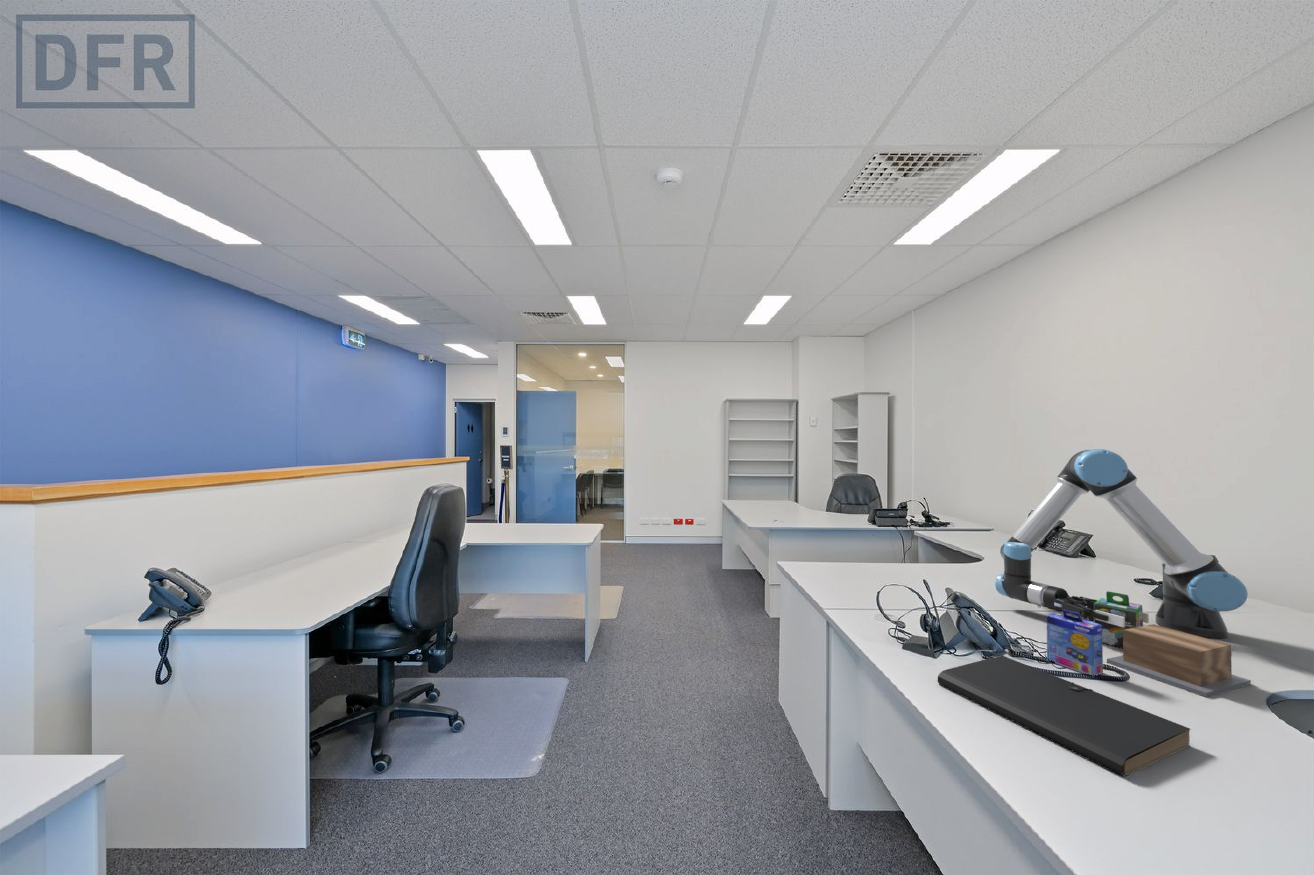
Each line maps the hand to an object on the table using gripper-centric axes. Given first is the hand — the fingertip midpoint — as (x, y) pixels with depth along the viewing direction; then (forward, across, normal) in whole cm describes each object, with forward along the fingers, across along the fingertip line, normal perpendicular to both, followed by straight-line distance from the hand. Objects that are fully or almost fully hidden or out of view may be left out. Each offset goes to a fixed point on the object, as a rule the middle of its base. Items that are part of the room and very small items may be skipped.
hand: (1136, 620), depth 132 cm
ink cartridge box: (+2, +32, -8) cm, 33 cm away
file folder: (+14, +62, -9) cm, 64 cm away
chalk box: (-4, 0, -8) cm, 9 cm away
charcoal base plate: (+12, +10, -8) cm, 18 cm away
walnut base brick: (+12, +10, -8) cm, 18 cm away
